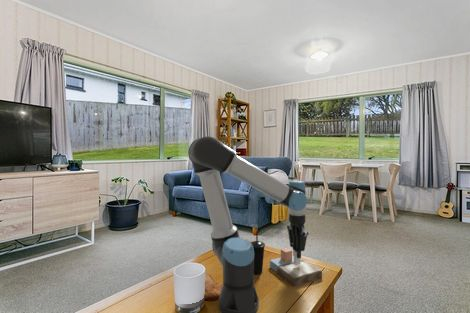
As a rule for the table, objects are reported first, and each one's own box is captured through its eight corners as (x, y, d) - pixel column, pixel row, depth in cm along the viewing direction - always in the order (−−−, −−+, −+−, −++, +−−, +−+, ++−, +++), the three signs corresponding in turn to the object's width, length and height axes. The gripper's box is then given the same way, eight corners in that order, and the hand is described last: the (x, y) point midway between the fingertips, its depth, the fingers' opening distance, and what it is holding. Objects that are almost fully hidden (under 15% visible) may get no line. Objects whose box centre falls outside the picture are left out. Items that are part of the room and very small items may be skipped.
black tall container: (246, 274, 115) (246, 231, 115) (252, 267, 121) (252, 227, 121) (261, 277, 111) (261, 234, 111) (267, 270, 118) (267, 229, 118)
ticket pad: (293, 286, 104) (293, 277, 104) (277, 273, 115) (277, 266, 115) (322, 278, 110) (322, 270, 110) (304, 267, 121) (304, 259, 121)
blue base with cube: (277, 272, 115) (277, 255, 115) (269, 266, 122) (269, 250, 122) (302, 266, 122) (302, 250, 121) (293, 261, 128) (293, 245, 128)
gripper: (313, 216, 109) (313, 268, 110) (294, 210, 121) (294, 257, 121) (299, 218, 106) (300, 271, 107) (282, 211, 118) (282, 260, 118)
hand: (297, 263), depth 114 cm, fingers closed
